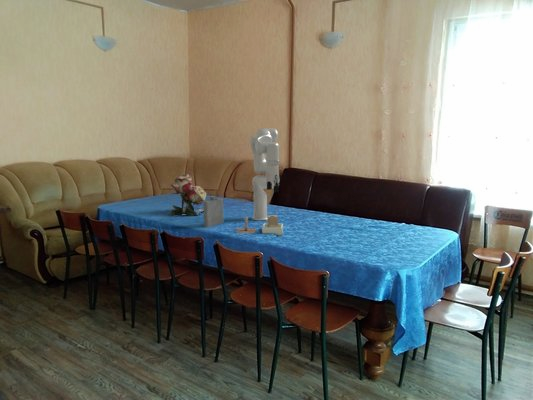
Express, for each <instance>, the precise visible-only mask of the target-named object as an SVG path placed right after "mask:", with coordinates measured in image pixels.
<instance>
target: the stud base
mask: <svg viewBox="0 0 533 400" xmlns="http://www.w3.org/2000/svg"><path fill="white" fill-rule="evenodd" d="M243 220H244V227H238V228H237V229H236V231H235V233H238V234H255V233H256V232H257V231H256V230H257V228H255V227H254V228H253V227H250V228H249V226H248V221H249V216H244V217H243ZM235 233H234V234H235Z"/></svg>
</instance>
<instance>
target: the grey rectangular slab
mask: <svg viewBox="0 0 533 400" xmlns="http://www.w3.org/2000/svg"><path fill="white" fill-rule="evenodd" d="M209 198H210V199H208V200H204V202H203V209H204V212H203V227H204V228H210V226H211V227H215V226H219V224H220V225H221V224H223V223H224V198H216V196H215V195H211V196H209ZM214 225H215V226H214Z"/></svg>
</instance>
